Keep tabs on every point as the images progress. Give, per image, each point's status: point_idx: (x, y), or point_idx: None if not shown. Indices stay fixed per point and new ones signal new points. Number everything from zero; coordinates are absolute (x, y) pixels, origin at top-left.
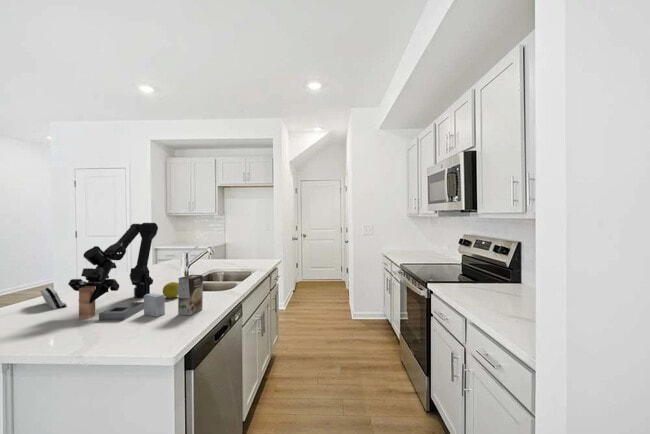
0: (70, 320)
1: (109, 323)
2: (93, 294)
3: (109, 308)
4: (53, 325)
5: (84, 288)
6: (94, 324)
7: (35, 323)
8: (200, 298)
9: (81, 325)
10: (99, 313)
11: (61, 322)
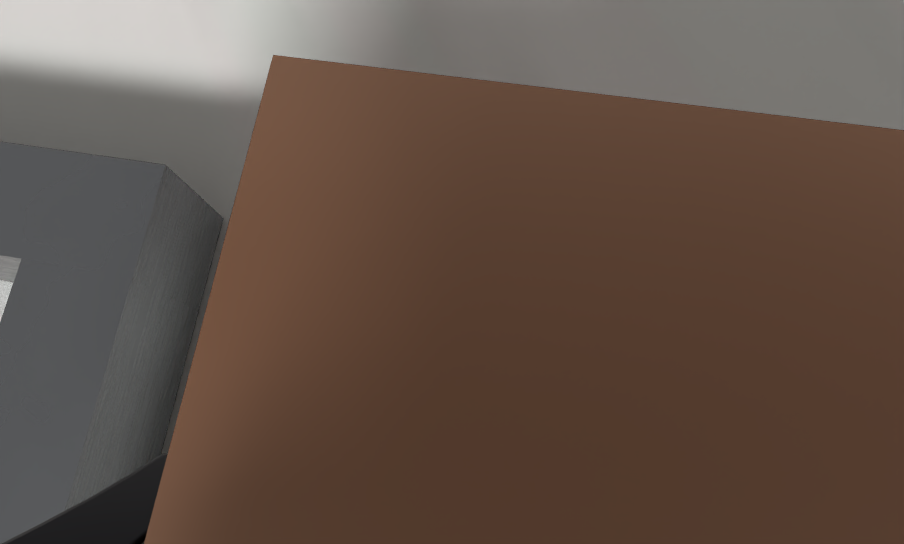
0: None
1: (15, 44)
2: None
3: (45, 515)
4: (868, 78)
5: (652, 150)
6: (221, 31)
7: None
8: None
9: (400, 14)
10: (158, 168)
11: None
